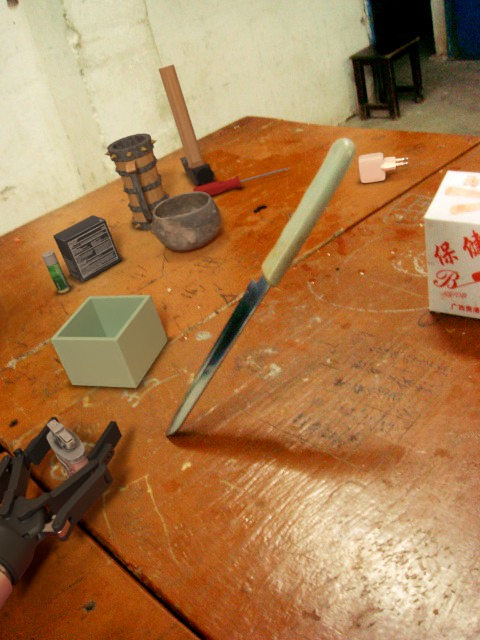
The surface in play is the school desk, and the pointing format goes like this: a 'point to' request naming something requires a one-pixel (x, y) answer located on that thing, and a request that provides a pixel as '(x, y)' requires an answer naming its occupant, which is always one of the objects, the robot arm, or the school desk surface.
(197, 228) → the bowl
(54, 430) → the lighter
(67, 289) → the battery
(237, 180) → the screwdriver
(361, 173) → the power adapter
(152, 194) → the mug
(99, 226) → the small box
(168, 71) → the hammer
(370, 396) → the school desk surface
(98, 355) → the trash bin
